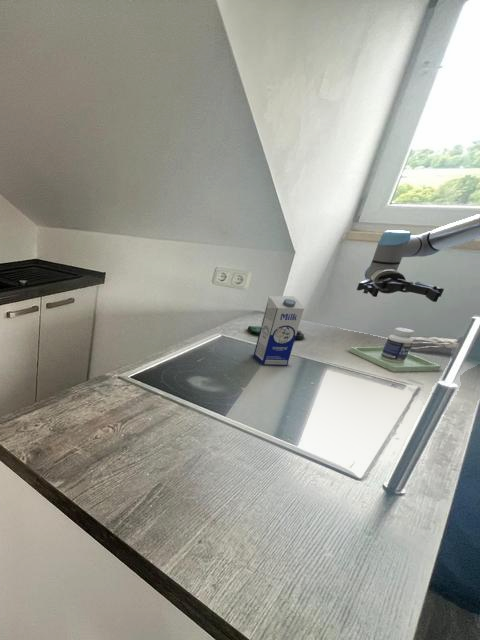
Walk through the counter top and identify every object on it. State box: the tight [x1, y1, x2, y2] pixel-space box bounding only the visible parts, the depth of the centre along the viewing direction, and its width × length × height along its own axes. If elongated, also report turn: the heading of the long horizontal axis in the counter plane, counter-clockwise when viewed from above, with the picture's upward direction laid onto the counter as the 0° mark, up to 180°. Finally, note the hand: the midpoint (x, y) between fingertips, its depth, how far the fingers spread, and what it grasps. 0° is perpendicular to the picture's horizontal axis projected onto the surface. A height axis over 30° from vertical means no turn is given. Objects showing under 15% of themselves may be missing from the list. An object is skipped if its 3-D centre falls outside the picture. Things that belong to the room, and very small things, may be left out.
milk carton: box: [253, 295, 305, 366], centre depth 117 cm, size 7×7×20 cm
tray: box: [349, 346, 442, 373], centre depth 119 cm, size 15×13×2 cm
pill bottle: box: [381, 327, 415, 363], centre depth 117 cm, size 5×5×10 cm
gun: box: [247, 325, 305, 341], centre depth 141 cm, size 16×1×10 cm
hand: (405, 295), depth 119 cm, fingers open, 13 cm apart
